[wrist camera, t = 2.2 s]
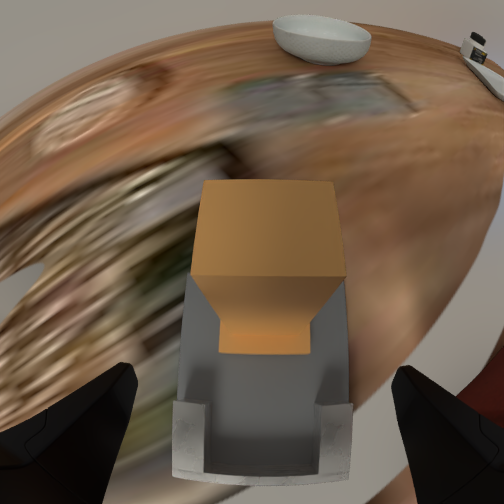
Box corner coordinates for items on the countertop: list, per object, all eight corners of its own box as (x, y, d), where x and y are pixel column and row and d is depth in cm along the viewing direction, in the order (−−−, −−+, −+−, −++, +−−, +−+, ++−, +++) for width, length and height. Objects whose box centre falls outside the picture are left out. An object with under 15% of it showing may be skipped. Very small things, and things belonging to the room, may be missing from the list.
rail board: (341, 464, 15) (345, 467, 14) (179, 461, 15) (176, 465, 15) (340, 279, 21) (343, 274, 21) (190, 277, 22) (187, 272, 21)
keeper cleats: (338, 468, 14) (348, 479, 12) (182, 466, 15) (172, 476, 12) (342, 400, 16) (353, 403, 14) (184, 398, 17) (173, 400, 15)
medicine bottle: (468, 60, 51) (477, 35, 40) (459, 52, 54) (467, 27, 43) (482, 67, 51) (491, 43, 40) (472, 58, 54) (481, 35, 43)
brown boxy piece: (308, 354, 18) (374, 317, 7) (220, 353, 18) (161, 315, 7) (300, 200, 23) (320, 76, 13) (231, 199, 24) (212, 75, 13)
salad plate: (493, 100, 39) (498, 90, 36) (458, 62, 49) (461, 54, 46) (533, 124, 38) (537, 116, 35) (500, 84, 47) (503, 77, 44)
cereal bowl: (329, 40, 44) (332, 13, 38) (383, 75, 37) (391, 43, 31) (257, 47, 41) (256, 16, 35) (304, 82, 35) (307, 41, 28)
